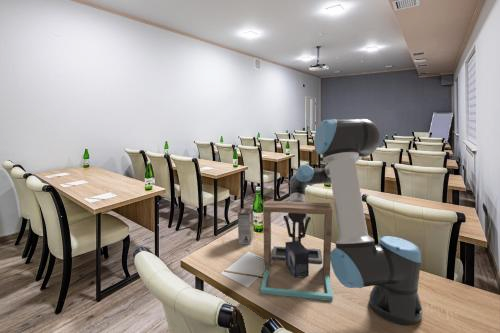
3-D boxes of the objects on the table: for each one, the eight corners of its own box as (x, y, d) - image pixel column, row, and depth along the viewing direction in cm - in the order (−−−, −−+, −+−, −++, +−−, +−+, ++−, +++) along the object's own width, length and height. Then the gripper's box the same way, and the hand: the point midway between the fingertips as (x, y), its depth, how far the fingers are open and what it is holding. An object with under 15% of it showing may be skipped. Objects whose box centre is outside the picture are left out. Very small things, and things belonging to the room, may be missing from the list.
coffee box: (242, 236, 144) (241, 207, 141) (254, 237, 143) (253, 208, 140) (238, 243, 135) (237, 213, 132) (250, 244, 134) (250, 214, 131)
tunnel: (329, 278, 105) (332, 209, 100) (264, 272, 109) (263, 206, 105) (327, 267, 112) (330, 203, 108) (266, 262, 117) (265, 200, 112)
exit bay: (332, 300, 92) (332, 296, 91) (260, 293, 96) (260, 289, 96) (328, 278, 104) (328, 275, 104) (265, 273, 109) (265, 269, 108)
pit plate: (322, 263, 116) (322, 260, 115) (271, 259, 120) (271, 256, 119) (320, 251, 125) (320, 249, 125) (273, 248, 129) (273, 246, 129)
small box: (284, 264, 115) (284, 241, 113) (298, 262, 117) (298, 239, 115) (294, 278, 105) (294, 253, 103) (309, 275, 107) (309, 251, 105)
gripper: (310, 208, 132) (311, 256, 119) (284, 207, 135) (281, 253, 121) (311, 201, 126) (311, 250, 113) (283, 200, 129) (281, 248, 115)
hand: (296, 252), depth 117 cm, fingers closed
